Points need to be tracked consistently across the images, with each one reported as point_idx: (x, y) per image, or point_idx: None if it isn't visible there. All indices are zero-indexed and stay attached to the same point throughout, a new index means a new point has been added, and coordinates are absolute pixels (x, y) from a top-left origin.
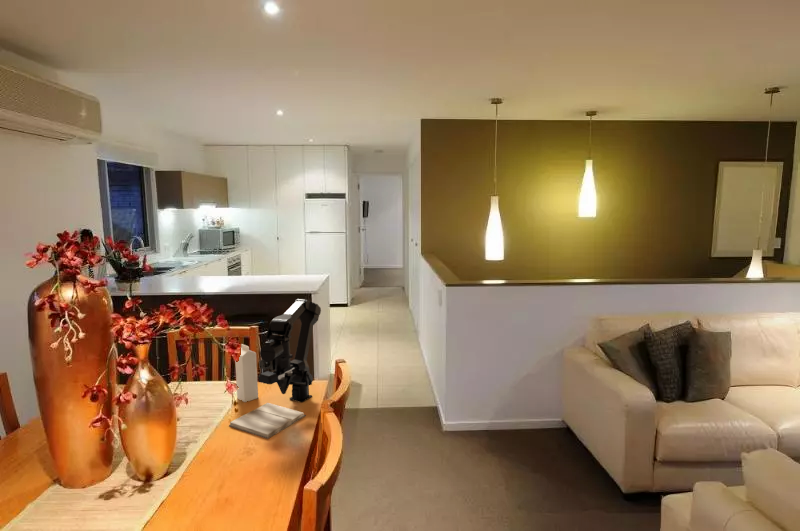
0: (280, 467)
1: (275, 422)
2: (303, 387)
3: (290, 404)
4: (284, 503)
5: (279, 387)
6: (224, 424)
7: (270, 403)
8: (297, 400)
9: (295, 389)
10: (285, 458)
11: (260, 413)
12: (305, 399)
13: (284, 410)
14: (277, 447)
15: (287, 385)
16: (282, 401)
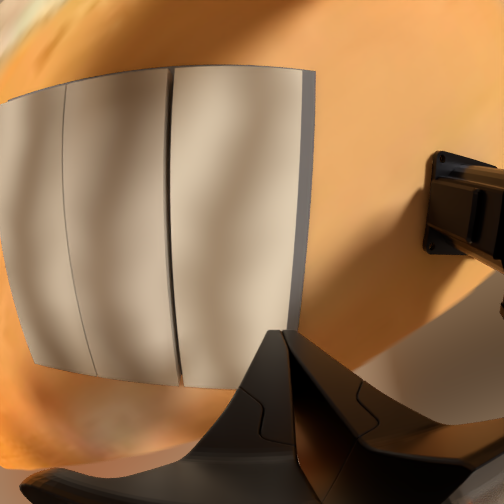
0: (26, 438)
1: (107, 333)
2: (499, 271)
3: (387, 199)
4: (9, 463)
5: (244, 380)
6: (17, 67)
7: (300, 99)
8: (428, 224)
9: (480, 222)
10: (45, 438)
11: (135, 154)
12: (449, 254)
13: (253, 278)
14: (47, 405)
15: (301, 459)
16: (400, 122)
